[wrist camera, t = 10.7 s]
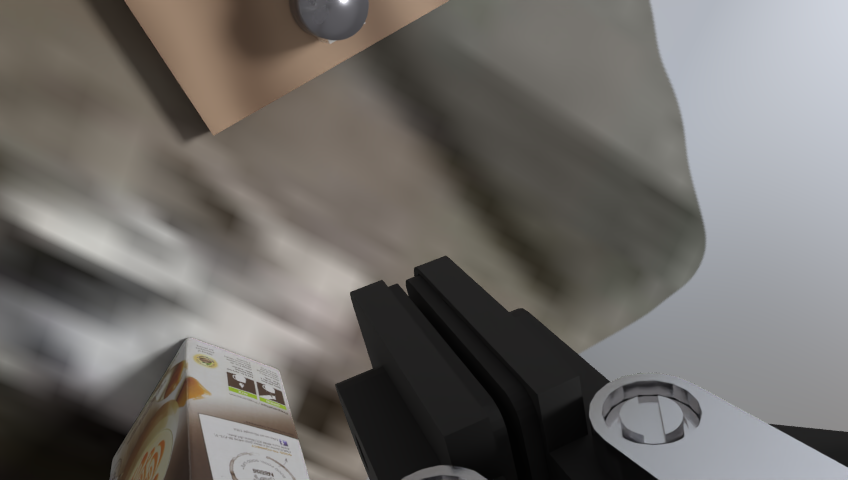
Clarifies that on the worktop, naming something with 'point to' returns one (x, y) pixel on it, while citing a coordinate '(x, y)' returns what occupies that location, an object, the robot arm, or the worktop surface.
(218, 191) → the worktop surface
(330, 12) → the bar
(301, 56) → the lock board
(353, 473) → the worktop surface
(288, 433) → the coffee box
